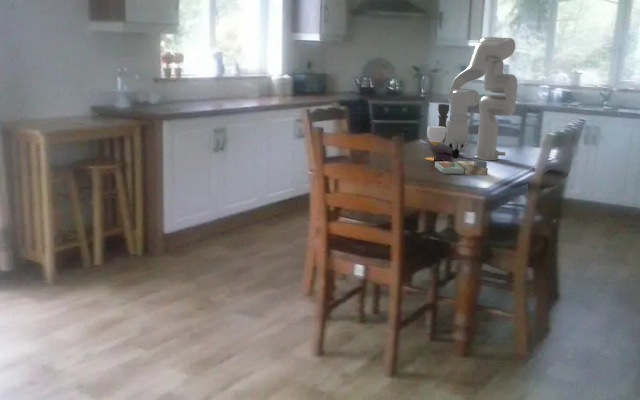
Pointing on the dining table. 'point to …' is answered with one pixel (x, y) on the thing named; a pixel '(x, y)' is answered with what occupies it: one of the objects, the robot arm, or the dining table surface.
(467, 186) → the dining table surface
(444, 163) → the terracotta tile
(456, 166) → the box
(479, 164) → the slate tile
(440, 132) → the cup
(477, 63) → the robot arm
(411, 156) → the dining table surface
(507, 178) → the dining table surface
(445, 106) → the candle holder
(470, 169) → the birch platform
